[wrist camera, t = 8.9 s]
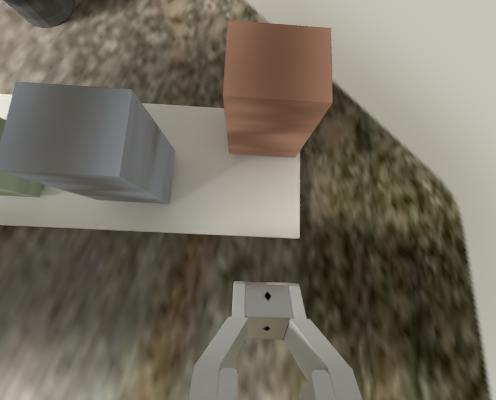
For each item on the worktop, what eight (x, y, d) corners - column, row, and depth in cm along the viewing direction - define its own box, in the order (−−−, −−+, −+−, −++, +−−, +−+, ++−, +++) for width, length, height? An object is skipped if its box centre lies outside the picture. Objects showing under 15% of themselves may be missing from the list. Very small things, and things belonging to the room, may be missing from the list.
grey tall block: (97, 200, 16) (-7, 169, 9) (106, 146, 17) (15, 81, 10) (169, 203, 16) (119, 176, 9) (175, 150, 17) (132, 89, 10)
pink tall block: (229, 153, 17) (222, 95, 10) (231, 105, 18) (228, 20, 11) (295, 157, 17) (332, 102, 10) (295, 109, 18) (331, 28, 11)
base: (-18, 224, 17) (-47, 222, 16) (12, 104, 19) (-11, 91, 17) (294, 238, 18) (300, 238, 16) (295, 122, 20) (301, 111, 18)
